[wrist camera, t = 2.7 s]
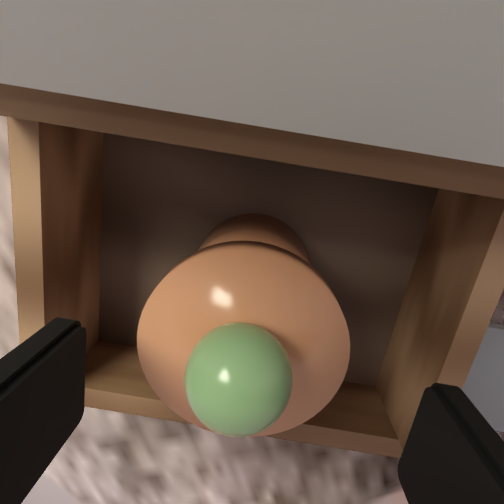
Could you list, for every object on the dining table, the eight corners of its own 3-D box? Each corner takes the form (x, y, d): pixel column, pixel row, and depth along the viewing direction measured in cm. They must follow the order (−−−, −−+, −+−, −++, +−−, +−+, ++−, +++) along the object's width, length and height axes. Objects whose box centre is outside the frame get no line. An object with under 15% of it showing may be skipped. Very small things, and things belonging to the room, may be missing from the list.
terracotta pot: (197, 194, 16) (98, 264, 7) (330, 216, 16) (412, 317, 7) (184, 314, 18) (93, 495, 9) (302, 333, 18) (338, 536, 9)
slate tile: (434, 313, 18) (440, 319, 17) (550, 332, 18) (559, 338, 17) (400, 407, 19) (404, 416, 19) (505, 425, 19) (512, 433, 19)
